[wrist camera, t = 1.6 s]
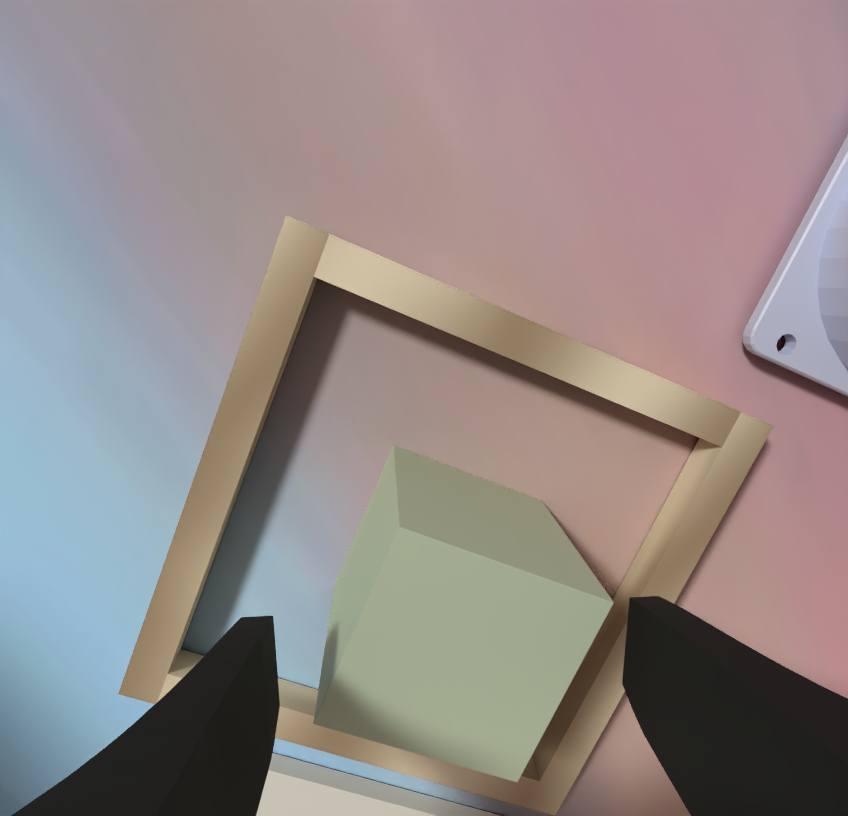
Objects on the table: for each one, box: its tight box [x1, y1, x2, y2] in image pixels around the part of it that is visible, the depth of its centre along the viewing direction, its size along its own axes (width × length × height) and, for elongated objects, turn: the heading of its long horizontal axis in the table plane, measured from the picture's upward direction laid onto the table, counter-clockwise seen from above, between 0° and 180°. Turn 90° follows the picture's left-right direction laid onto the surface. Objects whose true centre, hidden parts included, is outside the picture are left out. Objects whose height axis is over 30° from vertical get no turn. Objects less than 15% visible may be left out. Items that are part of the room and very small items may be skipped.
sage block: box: [313, 445, 614, 782], centre depth 13 cm, size 4×4×5 cm
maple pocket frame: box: [119, 215, 774, 816], centre depth 15 cm, size 13×13×1 cm
